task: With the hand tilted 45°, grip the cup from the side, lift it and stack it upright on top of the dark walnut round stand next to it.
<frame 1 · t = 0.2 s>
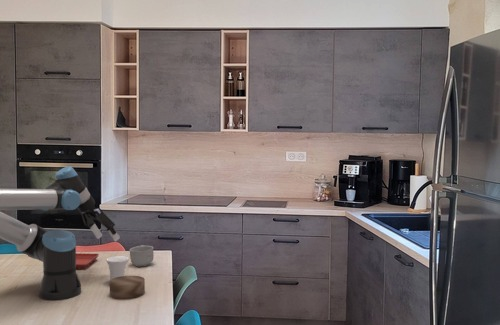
hand: (108, 238, 219), 15 cm above the table, tool tilted 30°, fingers open, 13 cm apart
plant saucer: (74, 265, 232), on the table
cup: (118, 282, 205), on the table
walnut stand: (127, 293, 191), on the table
teacup: (142, 264, 233), on the table
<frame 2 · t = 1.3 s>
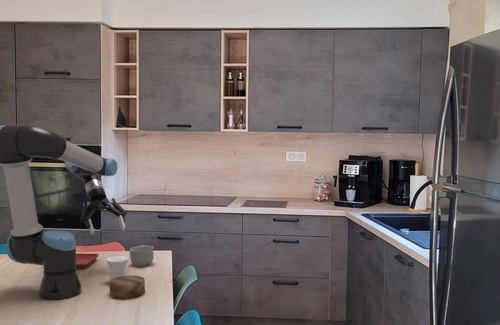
hand: (108, 231, 213), 19 cm above the table, tool tilted 45°, fingers open, 13 cm apart
nothing on the table moved.
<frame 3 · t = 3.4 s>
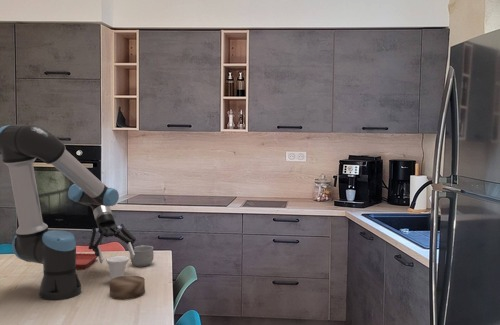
hand: (117, 259, 209), 8 cm above the table, tool tilted 45°, fingers open, 13 cm apart
nothing on the table moved.
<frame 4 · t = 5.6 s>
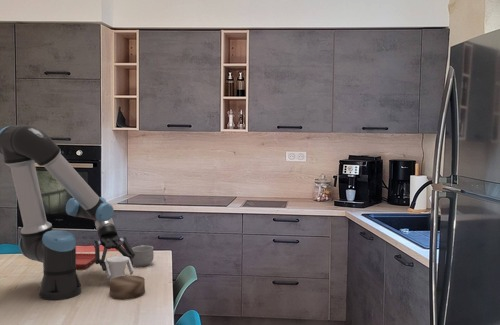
hand: (120, 274, 202), 4 cm above the table, tool tilted 45°, fingers closed on cup, 9 cm apart
cup: (118, 282, 205), on the table, touching gripper
everything else where it was.
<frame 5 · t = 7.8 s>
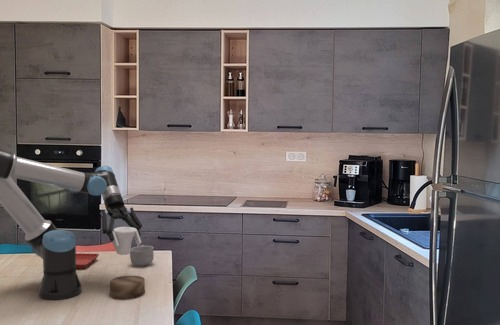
hand: (128, 245, 198), 17 cm above the table, tool tilted 40°, fingers closed on cup, 9 cm apart
cup: (124, 253, 201), point 13 cm above the table, touching gripper
everything else where it was.
when the fingers open (10 cm above the table, at t = 10.2 s): cup drops 1 cm, resting on walnut stand.
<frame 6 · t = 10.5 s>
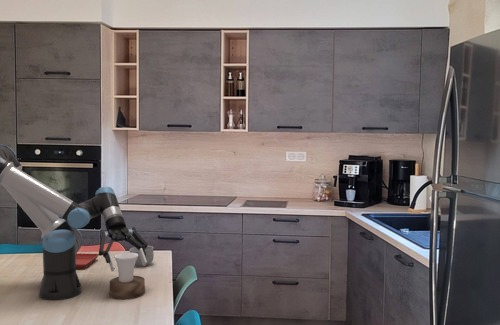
hand: (129, 266, 188), 11 cm above the table, tool tilted 45°, fingers open, 12 cm apart
cup: (127, 280, 191), point 5 cm above the table, touching walnut stand
everything else where it was.
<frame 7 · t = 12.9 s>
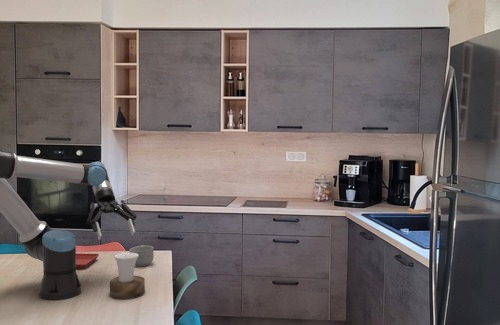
hand: (117, 235, 198), 21 cm above the table, tool tilted 45°, fingers open, 13 cm apart
nothing on the table moved.
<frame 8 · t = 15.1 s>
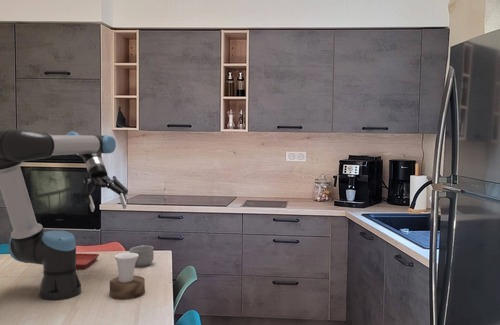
hand: (109, 208, 208), 30 cm above the table, tool tilted 45°, fingers open, 13 cm apart
nothing on the table moved.
at the end: cup 0.1 cm off-centre on the walnut stand, point 4.8 cm above the walnut stand's base; cup tilted 0°; the gripper is holding nothing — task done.
